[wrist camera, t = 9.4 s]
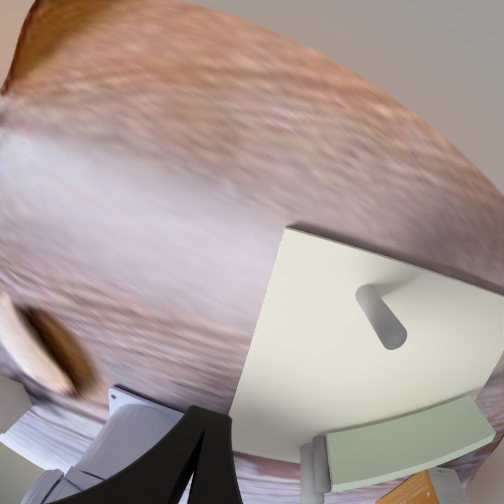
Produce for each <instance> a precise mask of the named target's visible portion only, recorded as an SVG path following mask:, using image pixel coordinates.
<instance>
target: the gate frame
mask: <svg viewBox="0 0 504 504" xmlns="http://www.w3.org/2000/svg"><path fill="white" fill-rule="evenodd" d="M503 351H504V295H501V294H498V293H496V292H493V291H490V290H487V289H484V288H481V287H479V286H476V285H473V284H470V283H467V282H464V281H461V280H458V279H455V278H452V277H449V276H446V275H443V274H440V273H437V272H434V271H431V270H428V269H425V268H422V267H419V266H416V265H413V264H410V263H407V262H404V261H400V260H397V259H394V258H391V257H388V256H384V255H381V254H378V253H375V252H372V251H368V250H365V249H362V248H358V247H355V246H352V245H348V244H345V243H342V242H338V241H335V240H332V239H328V238H325V237H321V236H318V235H314V234H311V233H307V232H304V231H300V230H297V229H293V228H290V227H286V226H285V228H284V232H283V236H282V239H281V243H280V246H279V250H278V253H277V257H276V260H275V264H274V267H273V271H272V274H271V278H270V281H269V284H268V288H267V291H266V295H265V298H264V301H263V305H262V308H261V311H260V315H259V318H258V321H257V325H256V328H255V331H254V335H253V338H252V341H251V345H250V348H249V351H248V354H247V358H246V361H245V364H244V367H243V370H242V374H241V377H240V380H239V383H238V386H237V389H236V393H235V396H234V399H233V402H232V405H231V408H230V411H229V414H228V416H230V417H231V418H232V419H233V420H232V434H231V435H232V450H234V451H238V452H243V453H247V454H251V455H256V456H261V457H266V458H271V459H276V460H282V461H288V462H294V463H300V474H301V504H323V503H324V494H318V493H316V492H315V472H314V454H313V438H314V437H315V436H317V435H323V436H325V437H326V444H327V452H328V462H329V467H330V460H329V451H328V442H327V434H330V433H336V432H341V431H347V430H352V429H357V428H362V427H367V426H371V425H375V424H380V423H384V422H388V421H392V420H396V419H399V418H403V417H406V416H410V415H413V414H417V413H420V412H423V411H426V410H429V409H432V408H435V407H438V406H441V405H444V404H447V403H450V402H452V401H455V400H458V399H460V398H463V397H465V396H468V395H470V397H471V398H472V399H473V401H475V400H476V398H477V397H478V395H479V393H480V392H481V390H482V389H483V387H484V385H485V384H486V382H487V380H488V379H489V377H490V375H491V373H492V372H493V370H494V368H495V366H496V364H497V363H498V361H499V359H500V357H501V355H502V353H503Z"/></svg>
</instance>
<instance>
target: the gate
mask: <svg viewBox="0 0 504 504" xmlns="http://www.w3.org/2000/svg"><path fill="white" fill-rule="evenodd" d="M495 434H496V432H495V430H494V429H493V427H492V426H491V424H490V423H489V422H488V420H487V419H486V417H485V416H484V414H483V413H482V412H481V410H480V409H479V407H478V406H477V405H476V403H475V402H474V401H473V399H472V398H471V397H470V395H468V396H465V397H463V398H460V399H458V400H455V401H452V402H450V403H447V404H444V405H441V406H438V407H435V408H432V409H429V410H426V411H423V412H420V413H417V414H413V415H410V416H406V417H403V418H399V419H396V420H392V421H388V422H384V423H380V424H375V425H371V426H367V427H362V428H357V429H352V430H347V431H341V432H336V433H330V434H327V442H328V451H329V460H330V469H331V478H332V489H333V492H338V491H344V490H350V489H355V488H360V487H365V486H369V485H374V484H378V483H382V482H386V481H390V480H394V479H397V478H401V477H404V476H408V475H411V474H414V473H417V472H420V471H423V470H426V469H429V468H432V467H435V466H437V465H440V464H443V463H445V462H448V461H450V460H453V459H455V458H458V457H460V456H462V455H465V454H467V453H469V452H471V451H474V450H476V449H478V448H480V447H482V446H484V445H486V444H488V443H490V442H492V441H493V439H494V436H495ZM313 454H314V472H315V492H316V493H318V494H325V493H328V492H330V491H331V482H330V472H329V462H328V452H327V444H326V437H325V436H323V435H317V436H315V437H314V438H313Z"/></svg>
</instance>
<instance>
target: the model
mask: <svg viewBox="0 0 504 504" xmlns="http://www.w3.org/2000/svg"><path fill="white" fill-rule="evenodd" d="M32 406H33V404H32V402H31V400H30V398H29V396H28V394H27V392H26V390H25V388H24V385H23V384H22V383H19V382H17V381H14V380H12V379H9V378H7V377H5V376H2V375H0V435H1V434H2V433H3V434H4V433H5V432H6V431H7V430H8V429H9V428H10V427H11V426H12V425H14V424H15V423H16V422H17V421H18V420H19V419H20V418H21V417H22V416H23V415H24V414H25V413H26V412H27V411H28V410H29V409H30V408H31V407H32Z"/></svg>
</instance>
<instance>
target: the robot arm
mask: <svg viewBox="0 0 504 504" xmlns="http://www.w3.org/2000/svg"><path fill="white" fill-rule="evenodd" d="M114 395H115V396H114ZM109 411H110V419H109V420H108V421H107V423H106V424H105V425H104V427H103V428H102V430H101V431H100V432H99V434H98V435H97V436H96V438H95V439H94V441H93V442H92V443H91V445H90V446H89V448H88V449H87V450H86V452H85V453H84V454H83V456H82V457H81V459H80V460H79V461H78V463H77V464H76V466H75V467H73V466H71V468H70V469H69V471H68V472H67V473H66V475H65V476H64V473H63V472H62V471H61V470H59V469H55V470H47V471H45V472H44V473H43V474H42V475H41V476H40V477H39V478H38V479H37V481H36V482H35V483H34V484H33V486H32V487H31V488H30V490H29V491H28V492H27V494H26V495H25V497H24V498H23V500H22V502H21V503H20V504H178V503H179V501H180V499H181V497H182V495H183V493H184V491H185V489H186V487H187V485H188V482H189V480H190V478H191V476H192V474H193V478H192V483H191V487H190V492H189V497H188V501H187V504H243V502H242V498H241V494H240V490H239V486H238V482H237V477H236V472H235V466H234V460H233V452H232V435H231V434H232V420H233V419H232V418H231V417H230V416H227V415H224V414H220V413H217V412H213V411H210V410H207V409H203V408H200V407H197V406H194V405H193V406H190V407H189V408H188V410H187V411H186V413H185V414H184V413H181V412H178V411H176V410H173V409H170V408H167V407H164V406H162V405H159V404H156V403H154V402H151V401H149V400H146V399H143V398H141V397H139V396H136V395H134V394H131V393H129V392H127V391H124V390H122V389H120V388H118V387H115V386H111V387H110V388H109ZM193 472H194V473H193Z"/></svg>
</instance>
